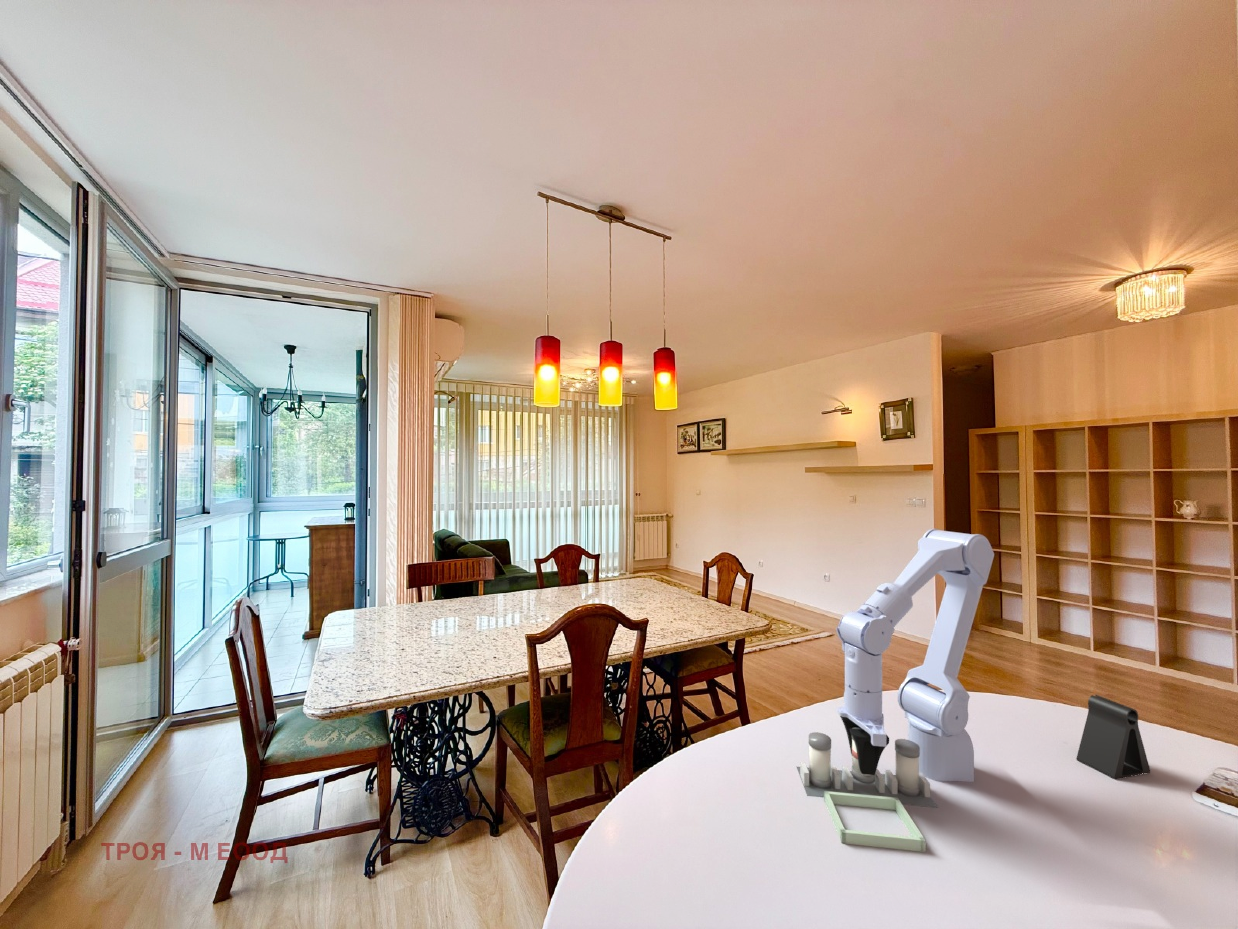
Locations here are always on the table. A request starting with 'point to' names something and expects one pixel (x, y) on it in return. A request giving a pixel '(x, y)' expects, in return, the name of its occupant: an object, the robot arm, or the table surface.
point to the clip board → (868, 786)
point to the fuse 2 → (907, 767)
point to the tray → (870, 838)
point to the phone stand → (1112, 740)
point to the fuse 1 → (820, 760)
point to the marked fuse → (855, 766)
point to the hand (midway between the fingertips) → (863, 766)
